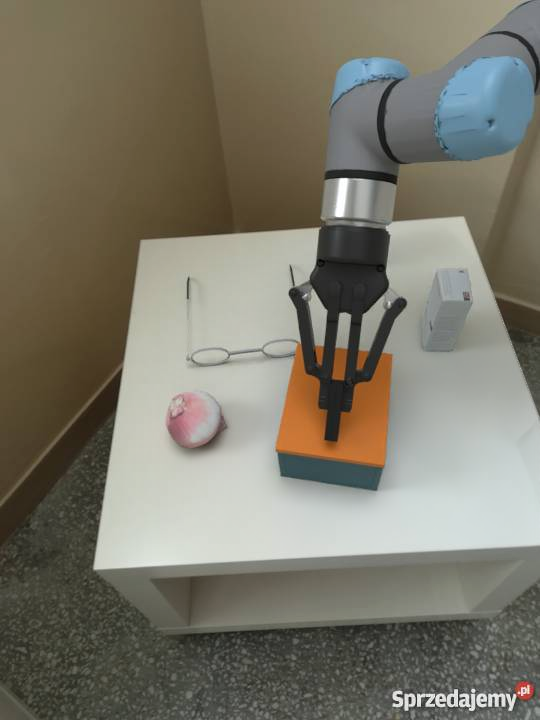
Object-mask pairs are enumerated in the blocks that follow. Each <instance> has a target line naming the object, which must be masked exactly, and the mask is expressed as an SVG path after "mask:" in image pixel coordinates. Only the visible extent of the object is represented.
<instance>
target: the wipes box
mask: <svg viewBox="0 0 540 720" xmlns="http://www.w3.org/2000/svg"><path fill="white" fill-rule="evenodd" d="M276 453H277V460H278V466H279V468H278V469H279V475H280V477H284V478H291V479H296V480H303V481H310V482H317V483H323V484H328V485H335V486H343V487H347V488H356V489H362V490H368V491H373V492H374V491H375V492H377V491H378V489H379V485H380V481H381V478H382V474H383V471H384V468H381V467H374V466H367V465H361V464H354V463H347V462H340V461H334V460H327V459H320V458H313V457H307V456H300V455H293V454H286V453H279V452H276Z"/></svg>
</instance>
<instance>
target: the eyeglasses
mask: <svg viewBox="0 0 540 720" xmlns="http://www.w3.org/2000/svg"><path fill="white" fill-rule="evenodd" d="M289 270H290V277H291V283H292V288H293V287H296V285H295V284H296V283H295V278H294V271H293V267H292V264H289ZM189 283H190V276H187V280H186V300H187V302H186V304H187V305H186V306H187V308H186V309H187V319H189V299H190V284H189ZM281 342H291V343H292V342H293V343H295V344H298V343H300V342H299V340H297V339H293V338H280V339H274V340H270V341H268V342H265V343H264V344H263V345H262V346H261V347H259V348H249V349H248V348H247V349H240V350H233V351H229V350H227V348H224V347H216V346H215V347H214V346H213V347H205V348H199V349H197V350H195V351H193V352H192V353H191V356H189V355H186V357H185V361H191V362H192V363H193V364H195V365H196V366H202V367H207V366H216V365H221V364H224V363H225V362H227V361H228V360H229V359H230V357H231V356H232V355H233V356H234V355H241V354H242V355H243V354H250V353H259V352H261V353H262V354H263V355H265V356H267V357H270V358H284V357H289V356H293V355H295V353H296V350H293V351H291V352H288V353H282V354H271V353H267V352H265V351H264V350H265V347H267V346H269V345H271V344H274V343H275V344H276V343H281ZM205 351H206V352H207V351H223V352H225V353H226V354H227V357H226V358H224V359H222V360H219V361H216V362H215V361H214V362H198V361H196V360H194V355H197V354H198V353H200V352H205Z"/></svg>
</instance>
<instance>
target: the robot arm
mask: <svg viewBox="0 0 540 720" xmlns="http://www.w3.org/2000/svg"><path fill="white" fill-rule="evenodd" d="M537 96H540V0H526V1H523V2H521V3H519V4H518V5H517V6H516V7H515V8H514V9H512V10H510V11H509V12H508V13H507V14H506V15H505V17H503V19H501V20H500V21H499V22H498V23H496V24H495V25H494V26H492V28H490V29H489V30H488V31H487V32H485V33H484V34H483V35H481V37H479V38H478V39H476V40H475V41H474V42H472V43H471V44H470V45H469V46H467V47H466V48H465V49H464V50H462V51H461V52H460V53H459V54H458V55H456V56H455V57H454V58H451V60H450V61H448V62H447V63H446V64H444V65H443V66H442V67H440V68H437V69H436V70H432V71H428V72H425V73H421V74H417V75H414V76H411V73H410V70H409V68H408V67H407V66H406V64H404V63H403V62H401V61H399V60H395V59H392V58H387V57H378V56H376V57H374V56H373V57H371V58H363V57H362V58H361V57H360V58H356V59H352V60H349V61H347V62H345V63H344V64H343V65H341V67H340V68H339V69H338V71H337V72H336V75H335V79H334V86H333V91H332V97H331V102H330V103H331V104H330V105H329V109H328V111H329V112H328V115H329V127H328V135H327V136H328V137H327V145H326V146H327V147H326V148H327V149H326V158H325V168H324V169H325V170H324V173H325V174H324V180H323V184H322V196H321V204H320V205H321V207H320V209H321V210H320V217H319V218H320V219H321V220H322V221H324V222H325V224H324V225H322V226H321V227H320V228H319V229H318V237H317V246H316V247H317V248H316V257H315V265H314V268H313V269H312V271H311V273H310V275H309V277H308V280H307V281H305V282H303V283H301V284H299V285H298V286H296V285H295V287H293V286H292V287H291V288H290V289H289V290H288V297H289V299H290V300H291V303H292V305H293V306H294V308H295V310H296V317H297V324H298V331H299V338H300V344H301V346H302V353H303V360H304V367H305V372H306V373H307V374H308V375H312V376H314V377H316V378H318V379H319V381H320V389H319V399H318V406H319V409H324V410H327V418H326V428H325V437H324V440H327V441H334V442H337V441H338V435H339V427H340V418H341V412H348V413H350V411H351V409H352V403H353V394H354V387H355V385H356V384H358V383H361V382H369V381H371V379H372V377H373V375H374V372H375V370H376V367H377V365H378V362H379V359H380V357H381V354H382V353H384V352H383V351H384V349H385V346H386V344H387V342H388V338H389V336H390V334H391V331H392V329H393V326H394V324H395V321H396V319H397V318H398V317H399V316H400V315H401V314H402V312H404V310H405V309H406V308H407V306H408V301H407V299H406V298H405V297H404V296H402V295H399V294H398V293H397V292H396V291H394V290H393V289H392V288H391V287H390V280H389V277H388V275H387V268H388V267H387V266H388V258H389V250H390V242H391V234H390V231H389V230H387V228H386V226H390V225H391V224H392V223H393V218H394V210H395V202H396V194H397V186H398V179H399V174H400V173H399V172H400V165H410V164H421V163H422V164H423V163H440V162H457V161H459V162H472V161H479V160H481V159H485V158H490V157H497V156H503V155H506V154H508V153H510V152H513V150H515V149H516V148H518V146H519V145H520V144H521V143H522V142H523V140H524V139H525V137H526V132H527V128H528V127H529V126H530V125H531V123H532V120H533V116H534V110H535V101H536V100H535V99H536V97H537ZM312 291H314V292H315V294H316V296H317V298H318V300H319V301H320V303H321V305H322V306H323V308H324V309H325V310H326V321H325V322H326V323H325V331H324V340H323V346H324V349H323V358H322V365H320V364H318V363H317V356H316V348H315V345H316V343H315V342H316V341H315V335H314V328H313V321H312V313H311V307H310V304H309V302H310V301H311V300H312V297H313V295H312ZM382 297H384V299H383V303H382V308H383V309H384V312H383V315H382V317H381V319H380V322H379V324H378V327H377V329H376V332H375V335H374V337H373V340H372V343H371V345H370V348H369V350H368V351H369V353H368V355H367V358H366V361H365V363H364V366H363V368H362V369H358V370H356V369H357V360H358V352H359V350H360V349H359V348H360V341H361V333H362V325H363V317H364V314H367V313H368V312H369V311H370V310H371V309H372V308H373V307H374V306H375V304H376V303H377V302H378V301H379V300H380V299H381V298H382ZM341 314H348V315H350V322H349V332H348V339H347V340H348V342H347V348H346V349H347V358H346V367H345V376H344V380H336V379H332V375H333V368H334V359H335V350H336V348H337V340H338V339H337V338H338V331H339V323H340V322H339V321H340V315H341Z"/></svg>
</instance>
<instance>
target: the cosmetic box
mask: <svg viewBox="0 0 540 720" xmlns="http://www.w3.org/2000/svg"><path fill="white" fill-rule="evenodd" d="M430 287H431V288H430V290H429V294H428V296H427V300H426V303H425V306H424V310H423V313H422V315H421V319H420V329H421V330H420V332H421V341H422V347H423V350H424V351H426V352H427V351H428V352H452V351H453V349H454V347H455V344H456V342H457V339H458V337H459V335H460V333H461V331H462V328H463V326H464V324H465V322H466V320H467V317H468V315H469V313H470V310H471V309H472V306H473V303H474V296H473V292H472V282H471V279H470V276H469V270H468V267H444V268H443V267H441V268H440V267H439V268H437V269H436V272H435V275H434V278H433V281H432V284H431V286H430Z"/></svg>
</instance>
